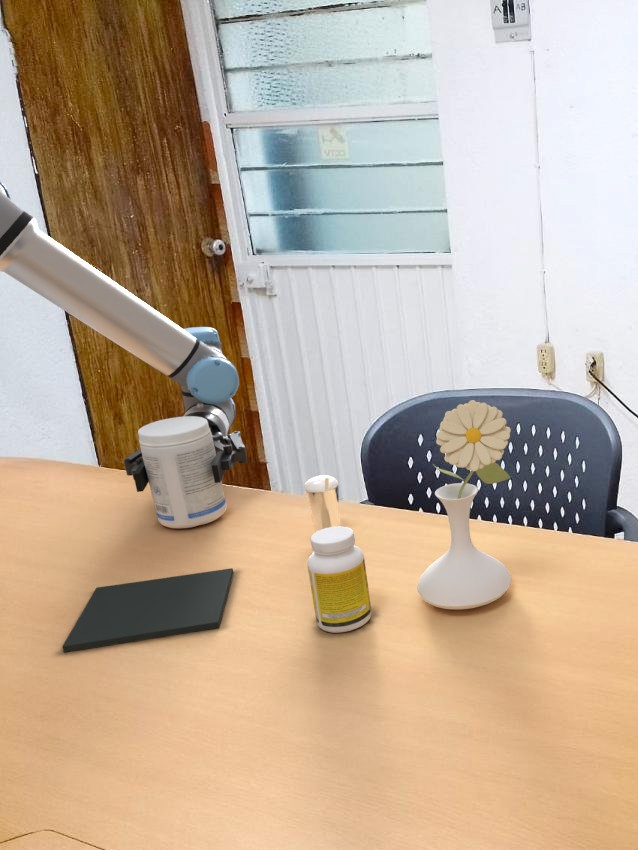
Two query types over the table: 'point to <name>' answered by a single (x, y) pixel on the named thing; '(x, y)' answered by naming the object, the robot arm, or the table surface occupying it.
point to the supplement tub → (182, 471)
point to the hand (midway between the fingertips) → (177, 478)
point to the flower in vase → (467, 510)
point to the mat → (151, 609)
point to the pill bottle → (338, 580)
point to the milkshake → (323, 501)
